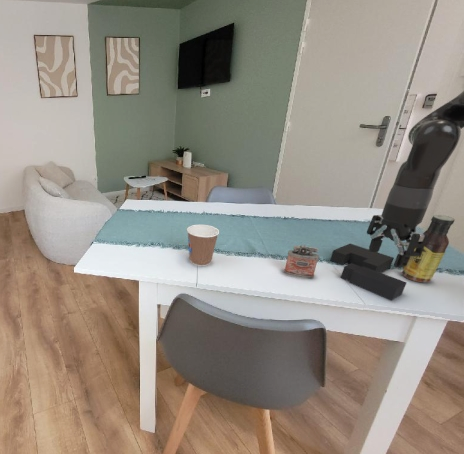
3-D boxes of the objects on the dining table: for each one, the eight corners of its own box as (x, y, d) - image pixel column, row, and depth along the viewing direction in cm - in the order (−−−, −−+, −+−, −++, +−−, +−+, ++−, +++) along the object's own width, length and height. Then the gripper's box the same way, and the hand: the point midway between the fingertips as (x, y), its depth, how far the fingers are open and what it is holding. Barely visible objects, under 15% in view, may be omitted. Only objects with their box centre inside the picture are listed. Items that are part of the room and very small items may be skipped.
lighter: (283, 274, 92) (290, 246, 88) (283, 269, 95) (289, 242, 91) (314, 279, 89) (322, 251, 85) (312, 274, 91) (320, 246, 88)
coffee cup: (189, 252, 109) (191, 222, 104) (218, 257, 104) (221, 227, 99) (181, 264, 101) (183, 233, 96) (212, 271, 96) (215, 238, 91)
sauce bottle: (397, 270, 91) (421, 211, 83) (424, 274, 88) (452, 213, 80) (406, 281, 86) (432, 219, 78) (435, 286, 83) (465, 222, 75)
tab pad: (349, 273, 91) (352, 262, 89) (401, 294, 80) (406, 282, 79) (339, 278, 89) (342, 267, 87) (391, 300, 78) (396, 288, 77)
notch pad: (389, 268, 92) (394, 257, 91) (373, 277, 88) (377, 266, 87) (346, 253, 102) (350, 243, 101) (330, 260, 98) (333, 250, 97)
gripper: (452, 212, 66) (424, 272, 73) (398, 194, 79) (379, 246, 86) (416, 212, 67) (392, 272, 73) (369, 194, 80) (352, 247, 86)
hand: (385, 258), depth 79 cm, fingers open, 8 cm apart
